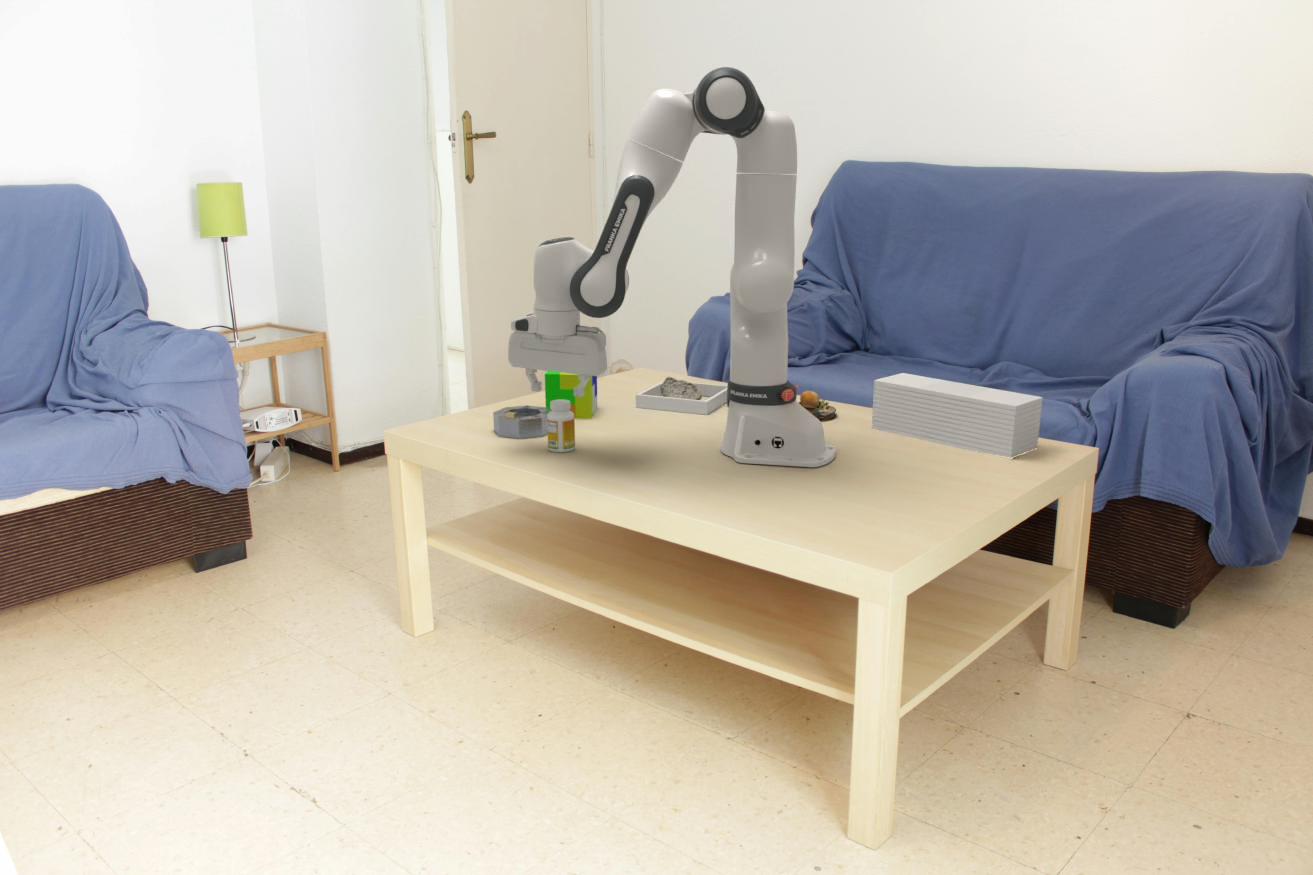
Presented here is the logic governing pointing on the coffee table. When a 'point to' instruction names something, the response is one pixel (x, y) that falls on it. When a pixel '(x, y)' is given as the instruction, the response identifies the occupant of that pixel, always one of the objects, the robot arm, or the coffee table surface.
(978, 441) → the stack of papers
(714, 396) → the grey sample tray
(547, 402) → the puzzle toy
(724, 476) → the coffee table surface
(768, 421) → the robot arm
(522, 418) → the ring
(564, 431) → the supplement bottle
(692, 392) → the rock sample
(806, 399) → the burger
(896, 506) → the coffee table surface
